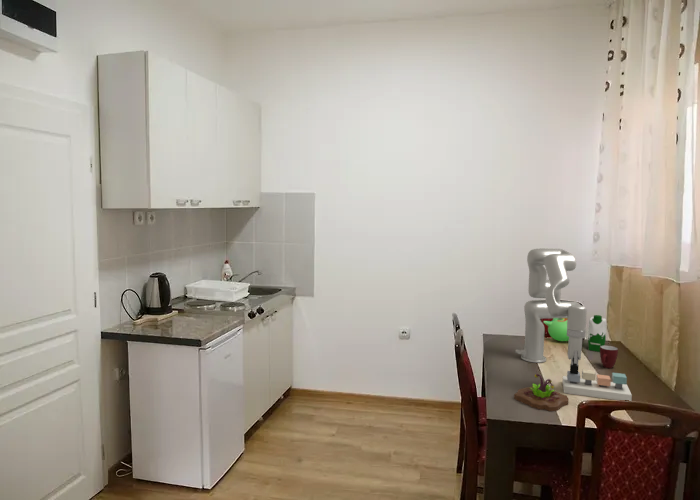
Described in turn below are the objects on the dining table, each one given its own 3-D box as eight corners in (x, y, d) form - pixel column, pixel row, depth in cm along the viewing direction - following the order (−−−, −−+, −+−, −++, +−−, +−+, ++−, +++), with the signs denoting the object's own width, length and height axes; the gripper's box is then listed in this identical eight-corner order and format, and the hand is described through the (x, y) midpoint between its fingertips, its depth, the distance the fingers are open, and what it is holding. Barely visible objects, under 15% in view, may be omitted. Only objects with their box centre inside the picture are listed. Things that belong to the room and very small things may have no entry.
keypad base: (563, 392, 217) (564, 386, 217) (562, 382, 230) (562, 375, 230) (631, 401, 208) (631, 395, 208) (625, 390, 221) (626, 383, 221)
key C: (597, 391, 216) (597, 378, 216) (595, 387, 221) (596, 374, 221) (610, 393, 215) (610, 379, 214) (608, 389, 219) (609, 375, 219)
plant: (532, 388, 223) (533, 364, 222) (575, 402, 208) (576, 376, 207) (506, 399, 210) (508, 373, 209) (550, 415, 195) (552, 387, 194)
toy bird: (570, 346, 288) (572, 321, 286) (541, 340, 299) (542, 316, 297) (580, 340, 302) (581, 316, 300) (551, 335, 312) (552, 312, 311)
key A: (567, 387, 221) (567, 374, 220) (566, 383, 225) (567, 370, 225) (579, 389, 219) (580, 375, 218) (578, 385, 224) (579, 372, 223)
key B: (582, 385, 218) (583, 372, 218) (581, 382, 223) (582, 369, 223) (594, 387, 217) (595, 374, 216) (593, 383, 221) (594, 370, 221)
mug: (613, 372, 245) (614, 352, 244) (595, 368, 250) (596, 349, 249) (618, 366, 253) (619, 347, 252) (601, 363, 258) (602, 344, 257)
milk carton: (586, 350, 280) (588, 315, 278) (588, 346, 288) (590, 312, 286) (604, 353, 276) (606, 317, 274) (605, 349, 283) (607, 314, 281)
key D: (612, 389, 214) (613, 376, 214) (611, 385, 219) (612, 372, 218) (625, 391, 212) (626, 377, 212) (624, 387, 217) (625, 374, 216)
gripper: (566, 328, 228) (564, 367, 230) (567, 336, 214) (565, 377, 216) (584, 330, 225) (581, 369, 227) (586, 338, 211) (584, 380, 213)
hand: (573, 373), depth 221 cm, fingers closed
